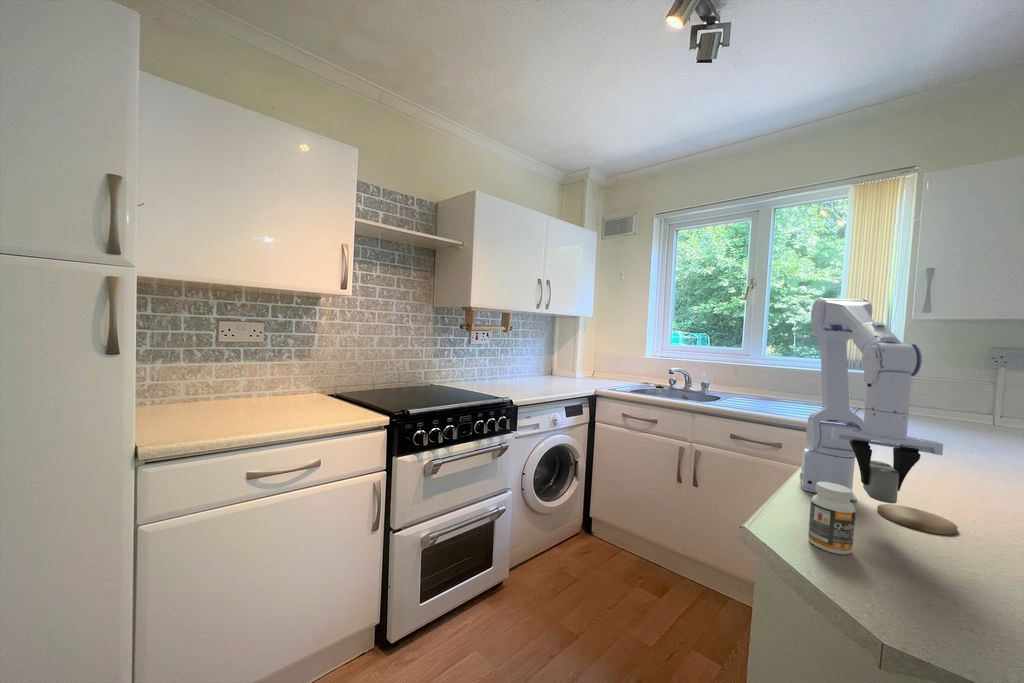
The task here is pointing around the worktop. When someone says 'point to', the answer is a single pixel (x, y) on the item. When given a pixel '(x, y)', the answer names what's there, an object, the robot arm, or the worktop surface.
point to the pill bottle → (832, 518)
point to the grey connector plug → (882, 482)
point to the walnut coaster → (917, 519)
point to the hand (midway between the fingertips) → (879, 486)
